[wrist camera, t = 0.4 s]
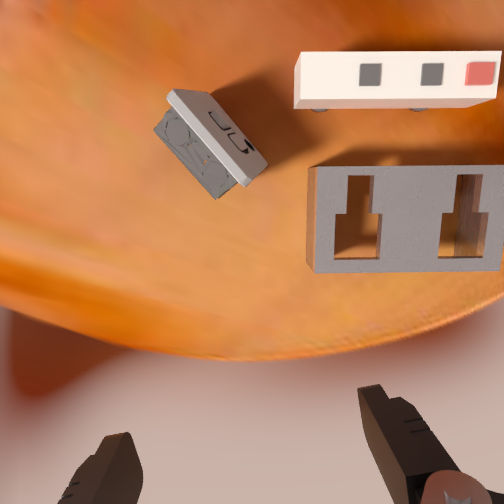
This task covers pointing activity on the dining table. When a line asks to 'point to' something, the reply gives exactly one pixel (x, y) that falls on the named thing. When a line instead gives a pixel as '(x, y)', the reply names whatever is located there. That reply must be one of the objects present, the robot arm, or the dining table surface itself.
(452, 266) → the grey slotted stand
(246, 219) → the dining table surface
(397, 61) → the power strip
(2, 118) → the dining table surface
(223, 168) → the electrical switch
